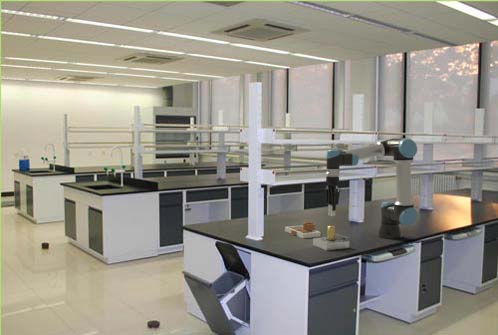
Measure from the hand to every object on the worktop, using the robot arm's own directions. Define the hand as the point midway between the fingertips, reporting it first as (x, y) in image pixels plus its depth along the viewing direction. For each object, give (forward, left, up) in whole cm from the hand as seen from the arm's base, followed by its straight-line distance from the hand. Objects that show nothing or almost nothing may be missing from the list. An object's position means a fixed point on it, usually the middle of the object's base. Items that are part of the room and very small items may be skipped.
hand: (331, 215), depth 261 cm
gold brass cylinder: (0, 0, -18) cm, 18 cm away
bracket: (-3, -36, -19) cm, 41 cm away
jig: (0, 0, -18) cm, 18 cm away
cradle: (-2, -36, -18) cm, 41 cm away
